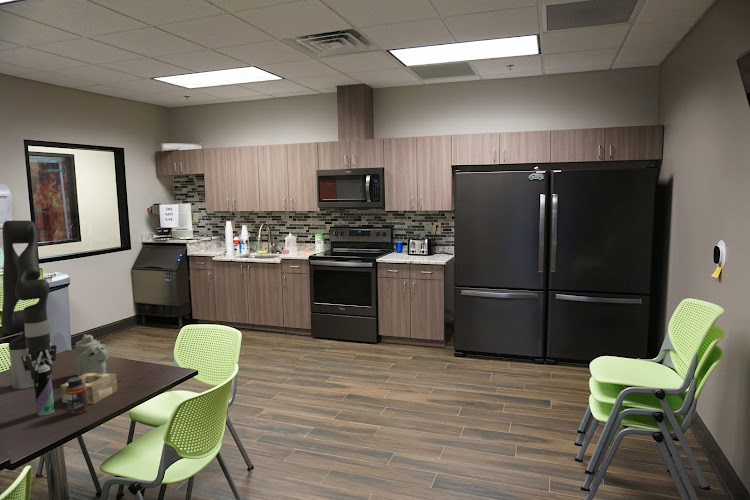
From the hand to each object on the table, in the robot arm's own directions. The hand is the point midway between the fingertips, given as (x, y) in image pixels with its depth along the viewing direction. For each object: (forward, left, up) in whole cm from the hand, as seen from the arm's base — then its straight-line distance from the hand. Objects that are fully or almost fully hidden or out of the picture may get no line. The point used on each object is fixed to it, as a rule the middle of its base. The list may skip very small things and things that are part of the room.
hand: (42, 376), depth 191 cm
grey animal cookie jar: (-9, +37, -14) cm, 41 cm away
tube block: (+6, +16, -14) cm, 22 cm away
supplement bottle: (+12, +2, -14) cm, 19 cm away
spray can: (0, 0, -14) cm, 14 cm away
